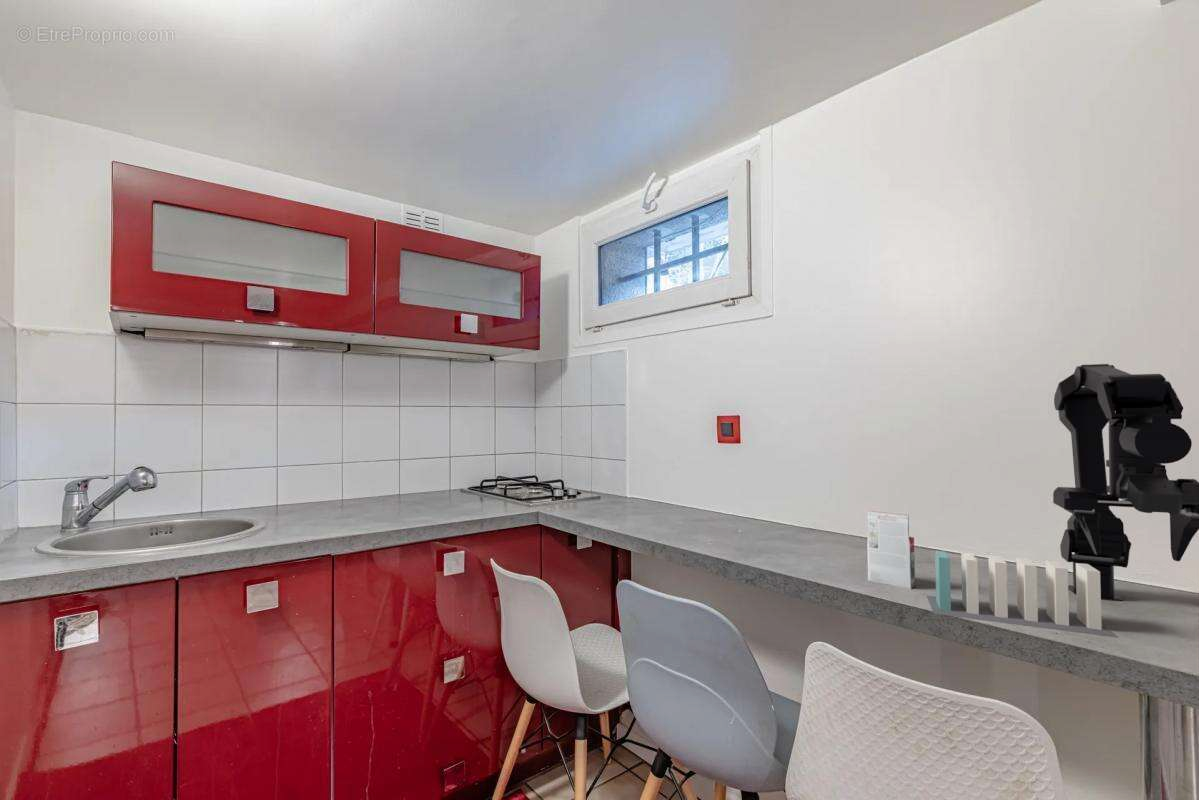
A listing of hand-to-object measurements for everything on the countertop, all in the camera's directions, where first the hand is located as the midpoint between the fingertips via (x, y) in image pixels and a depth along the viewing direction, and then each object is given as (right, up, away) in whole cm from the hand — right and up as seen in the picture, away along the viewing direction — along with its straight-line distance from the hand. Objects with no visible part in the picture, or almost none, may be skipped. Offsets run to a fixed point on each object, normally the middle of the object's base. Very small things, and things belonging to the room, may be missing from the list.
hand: (1135, 557), depth 84 cm
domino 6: (-4, -12, +4) cm, 13 cm away
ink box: (-24, -13, +25) cm, 37 cm away
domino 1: (-22, -12, +12) cm, 28 cm away
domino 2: (-18, -12, +11) cm, 24 cm away
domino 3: (-15, -12, +9) cm, 21 cm away
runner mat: (-13, -12, +8) cm, 20 cm away
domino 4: (-11, -12, +7) cm, 18 cm away
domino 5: (-7, -12, +6) cm, 15 cm away
